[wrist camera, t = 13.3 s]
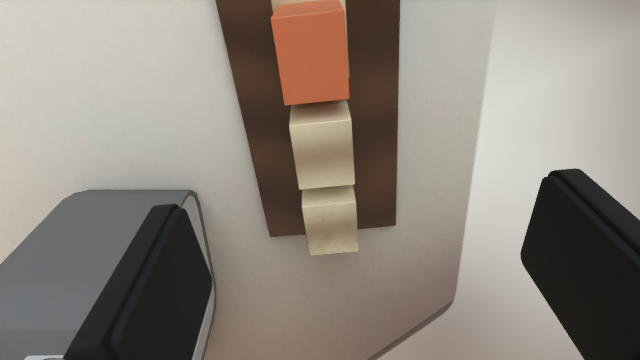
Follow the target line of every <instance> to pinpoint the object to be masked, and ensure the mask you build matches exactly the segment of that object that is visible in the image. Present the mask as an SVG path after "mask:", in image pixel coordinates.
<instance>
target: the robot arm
mask: <svg viewBox="0 0 640 360" xmlns="http://www.w3.org/2000/svg"><path fill="white" fill-rule="evenodd" d="M521 260H522V263H523V265H524V267H525V269H526V270H527V272H528V273H529V275H530V276H531V278H532V279H533V281H534V282H535V284H536V286H537V287H538V288H539V290H540V292H541V293H542V295H543V296H544V298H545V299H546V301H547V302H548V304H549V306H550V307H551V309H552V310H553V312H554V313H555V315H556V316H557V318H558V320H559V321H560V323H561V324H562V326H563V327H564V329H565V330H566V332H567V333H568V335H569V337H570V338H571V340H572V341H573V343H574V344H575V346H576V347H577V349H578V350H579V352H580V353H581V355H582V356H583V358H584V360H640V220H639V219H637V218H636V217H635V216H634V215H633V214H632V213H630V212H629V211H628V210H627V209H626V208H625V207H623V206H622V205H621V204H620V203H619V202H618V201H616V200H615V199H614V198H613V197H612V196H610V194H608V193H607V192H606V191H605V190H604V189H603V188H601V187H600V186H599V185H598V184H597V183H596V182H594V181H593V180H592V179H591V178H590V177H589V176H587V175H586V174H585V173H584V172H583V171H581V170H580V169H566V170H555V171H551V172H550V173H549V175H548V177H544V178H543V179H542V182H541V185H540V188H539V192H538V195H537V198H536V202H535V205H534V209H533V212H532V215H531V219H530V223H529V226H528V229H527V232H526V236H525V239H524V243H523V246H522V249H521ZM211 291H212V277H211V274H210V271H209V268H208V266H207V263H206V260H205V258H204V255H203V252H202V250H201V247H200V245H199V242H198V239H197V237H196V234H195V231H194V229H193V226H192V223H191V221H190V218H189V215H188V213H187V211H186V209H184V208H181V209H180V207H179V205H178V204H164V205H155V206H153V207H152V208H151V209H150V211H149V213H148V214H147V216H146V218H145V219H144V221H143V223H142V225H141V226H140V228H139V230H138V231H137V233H136V235H135V236H134V238H133V240H132V241H131V243H130V245H129V246H128V248H127V250H126V251H125V253H124V255H123V256H122V258H121V260H120V262H119V263H118V265H117V267H116V268H115V270H114V272H113V273H112V275H111V277H110V278H109V280H108V282H107V283H106V285H105V287H104V288H103V290H102V292H101V293H100V295H99V297H98V299H97V300H96V302H95V304H94V305H93V307H92V309H91V310H90V312H89V314H88V315H87V317H86V319H85V320H84V322H83V324H82V325H81V327H80V329H79V330H78V332H77V334H76V336H75V337H74V339H73V341H72V342H71V344H70V346H69V348H68V349H67V351H66V353H65V354H64V356H63V358H46V359H43V360H192V358H193V354H194V350H195V347H196V343H197V340H198V336H199V333H200V329H201V326H202V322H203V319H204V315H205V312H206V308H207V305H208V301H209V298H210V294H211Z"/></svg>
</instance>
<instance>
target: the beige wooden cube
mask: <svg viewBox="0 0 640 360" xmlns="http://www.w3.org/2000/svg"><path fill="white" fill-rule="evenodd" d="M302 212H303V218H304V224H305V231H306V237H307V243H308V249H309V255H310V256H313V255H324V254H335V253H346V252H357V251H359V246H358V228H357V210H356V199H355V194H354V188H353V185H343V186H333V187H322V188H312V189H302Z"/></svg>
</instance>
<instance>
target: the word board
mask: <svg viewBox="0 0 640 360" xmlns="http://www.w3.org/2000/svg"><path fill="white" fill-rule="evenodd" d="M311 1H320V0H216V4H217V9H218V13H219V17H220V22H221V26H222V30H223V35H224V39H225V43H226V48H227V52H228V56H229V61H230V65H231V69H232V74H233V78H234V82H235V87H236V91H237V95H238V100H239V104H240V108H241V113H242V117H243V121H244V125H245V130H246V134H247V138H248V143H249V147H250V151H251V156H252V160H253V164H254V169H255V173H256V177H257V182H258V186H259V190H260V195H261V199H262V203H263V208H264V212H265V216H266V221H267V225H268V229H269V234H270V237H277V236H287V235H298V234H306V231H305V224H304V218H303V212H302V190H299V186H298V180H297V174H296V167H295V161H294V155H293V148H292V142H291V136H290V130H289V122H290V112H291V105H286V106H285V105H284V98H283V92H282V86H281V80H280V74H279V67H278V61H277V55H276V49H275V43H274V36H273V30H272V24H271V17H272V15H273V13H274V11H275V9H276V7H277V6H278V5H285V4H293V3H302V2H311ZM339 2H340V3H341V5H342V7H343V9H344V11H345V29H346V46H347V63H348V80H349V97H350V98H349V99H346V100H347V104H348V108H349V112H350V116H351V121H352V138H353V156H354V174H355V184H353V188H354V194H355V199H356V210H357V228H358V229H363V228H373V227H384V226H395V225H396V183H397V129H398V75H399V21H400V0H339Z"/></svg>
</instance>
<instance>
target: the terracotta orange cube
mask: <svg viewBox="0 0 640 360" xmlns="http://www.w3.org/2000/svg"><path fill="white" fill-rule="evenodd" d="M271 24H272V30H273V36H274V43H275V49H276V55H277V61H278V67H279V74H280V80H281V86H282V92H283V98H284V105H285V106H286V105H295V104H305V103H314V102H324V101H333V100H343V99H349V98H350V97H349V80H348V63H347V46H346V29H345V11H344V9H343V7H342V5H341V3H340V2H339V0H320V1H311V2H302V3H293V4H285V5H278V6H277V7H276V9H275V11H274V13H273V15H272V17H271Z"/></svg>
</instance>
